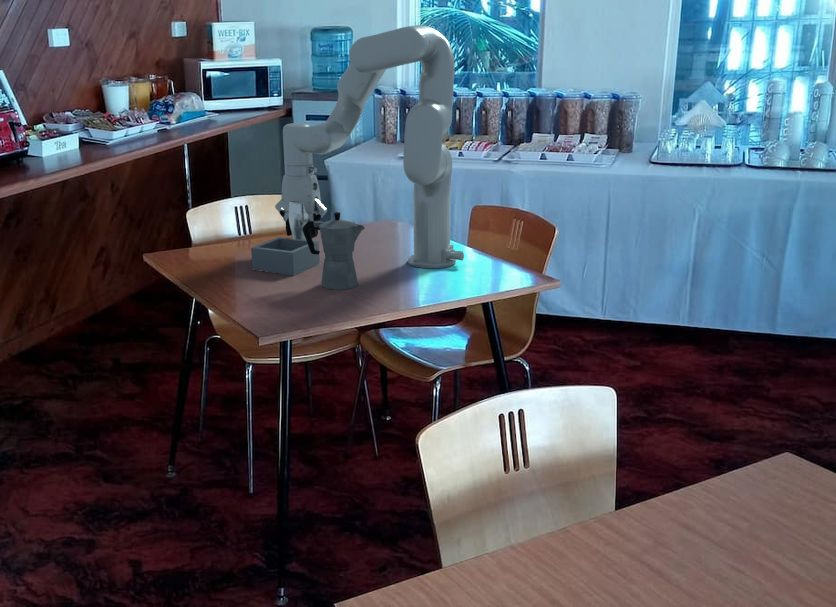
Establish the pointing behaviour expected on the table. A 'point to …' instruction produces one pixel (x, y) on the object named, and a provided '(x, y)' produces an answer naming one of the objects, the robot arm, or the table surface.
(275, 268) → the grey open box
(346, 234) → the coffeepot
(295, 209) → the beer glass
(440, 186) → the robot arm
